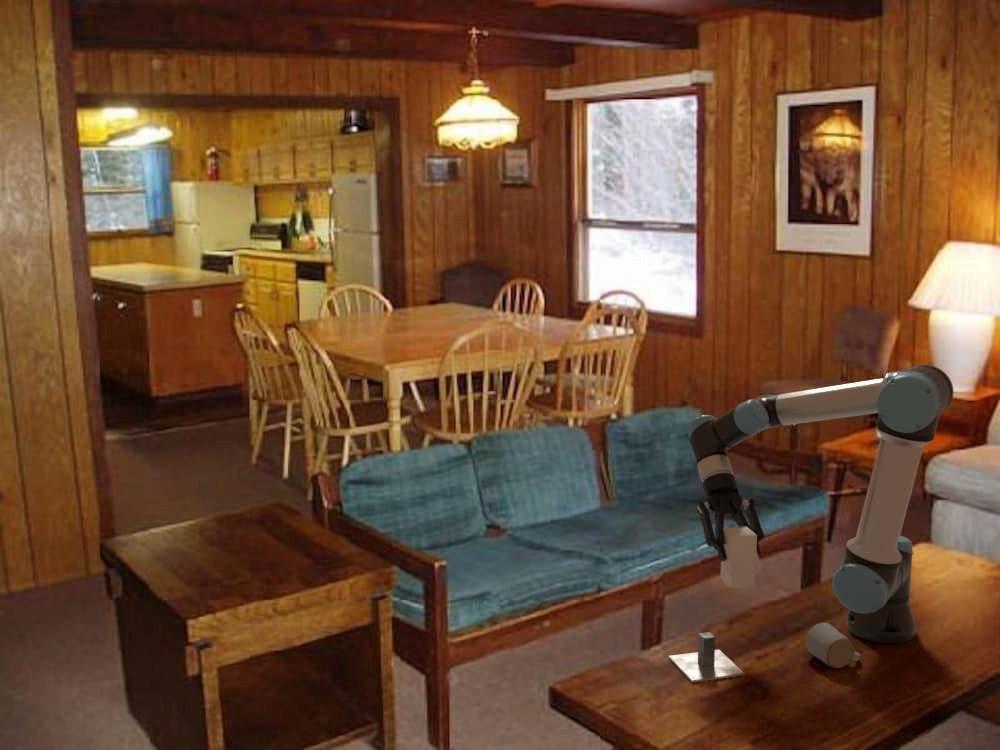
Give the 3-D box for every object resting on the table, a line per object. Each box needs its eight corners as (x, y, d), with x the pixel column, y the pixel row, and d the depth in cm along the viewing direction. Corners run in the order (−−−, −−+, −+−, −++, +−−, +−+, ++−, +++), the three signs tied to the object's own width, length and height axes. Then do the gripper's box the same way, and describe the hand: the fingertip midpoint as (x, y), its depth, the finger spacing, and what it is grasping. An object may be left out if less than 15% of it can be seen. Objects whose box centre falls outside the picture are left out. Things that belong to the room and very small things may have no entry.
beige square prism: (743, 576, 240) (745, 526, 238) (754, 586, 235) (757, 534, 232) (720, 578, 239) (722, 528, 237) (730, 588, 234) (733, 536, 231)
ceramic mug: (827, 673, 225) (829, 639, 224) (804, 657, 233) (806, 624, 232) (868, 665, 229) (870, 632, 227) (844, 650, 236) (846, 617, 235)
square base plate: (719, 651, 236) (719, 621, 234) (744, 675, 224) (745, 643, 223) (668, 658, 233) (669, 627, 232) (692, 683, 221) (692, 650, 220)
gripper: (749, 483, 250) (777, 575, 238) (675, 489, 246) (700, 582, 234) (760, 468, 244) (790, 562, 231) (684, 473, 240) (710, 569, 228)
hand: (745, 572), depth 233 cm, fingers closed on beige square prism, 6 cm apart
